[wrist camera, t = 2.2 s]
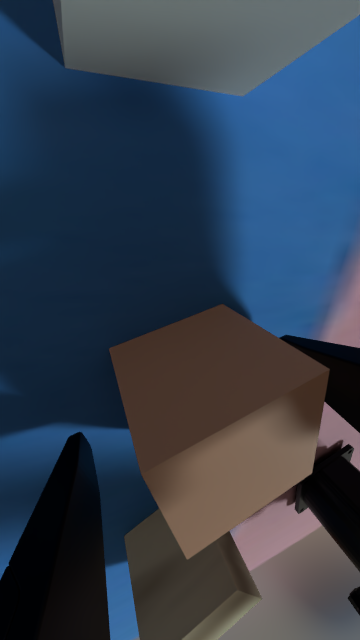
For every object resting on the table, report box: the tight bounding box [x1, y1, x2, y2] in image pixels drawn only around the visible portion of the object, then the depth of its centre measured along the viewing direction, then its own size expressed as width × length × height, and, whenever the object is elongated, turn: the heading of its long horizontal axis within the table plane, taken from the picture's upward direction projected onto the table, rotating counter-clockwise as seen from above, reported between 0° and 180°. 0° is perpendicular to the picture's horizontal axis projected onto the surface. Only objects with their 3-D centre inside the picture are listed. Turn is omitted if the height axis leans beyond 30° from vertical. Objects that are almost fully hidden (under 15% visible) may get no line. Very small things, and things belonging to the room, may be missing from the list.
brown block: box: [109, 304, 330, 560], centre depth 8 cm, size 5×5×5 cm
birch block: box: [124, 508, 262, 640], centre depth 13 cm, size 5×5×5 cm
